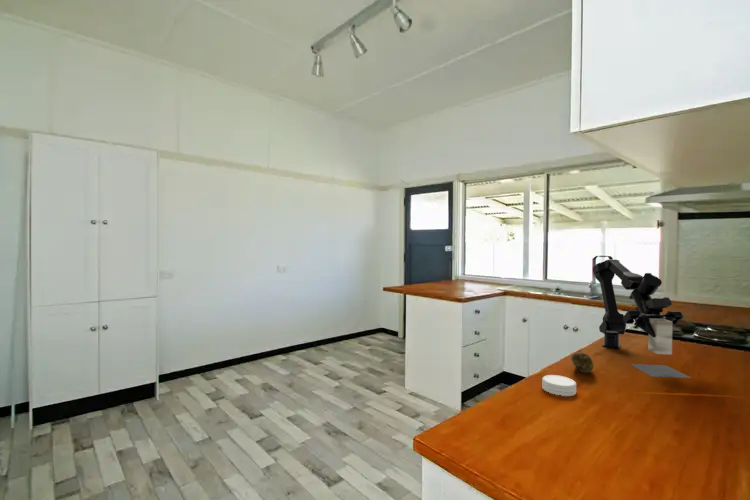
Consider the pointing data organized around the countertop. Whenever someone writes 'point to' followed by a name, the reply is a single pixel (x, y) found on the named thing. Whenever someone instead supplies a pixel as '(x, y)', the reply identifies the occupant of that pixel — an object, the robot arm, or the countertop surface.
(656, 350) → the tall block
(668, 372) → the rubber mat
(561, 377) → the coaster
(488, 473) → the countertop surface
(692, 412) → the countertop surface
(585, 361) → the potato
